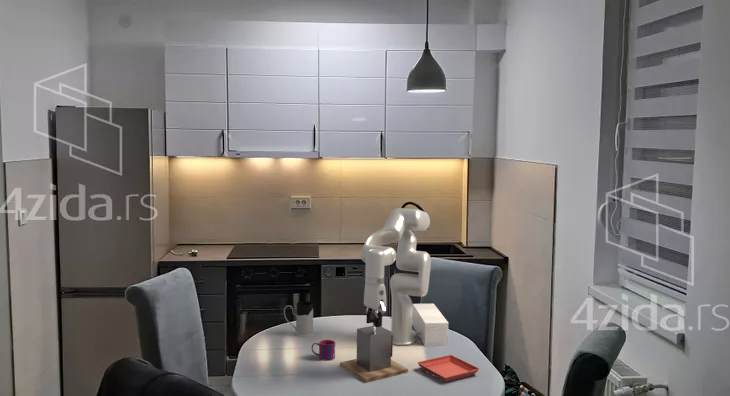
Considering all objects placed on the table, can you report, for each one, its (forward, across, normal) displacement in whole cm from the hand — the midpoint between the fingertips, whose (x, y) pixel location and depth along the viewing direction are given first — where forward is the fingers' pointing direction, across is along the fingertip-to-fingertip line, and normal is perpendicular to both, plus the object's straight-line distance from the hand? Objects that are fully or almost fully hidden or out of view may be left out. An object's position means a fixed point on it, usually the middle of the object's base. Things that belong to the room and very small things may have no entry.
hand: (374, 324), depth 251 cm
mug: (+19, +22, +11) cm, 31 cm away
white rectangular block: (+19, +23, -47) cm, 56 cm away
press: (+17, 0, -2) cm, 17 cm away
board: (+19, 0, 0) cm, 19 cm away
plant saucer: (+19, -18, -24) cm, 36 cm away
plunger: (+17, 0, 0) cm, 17 cm away
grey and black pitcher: (+19, +55, +6) cm, 58 cm away
